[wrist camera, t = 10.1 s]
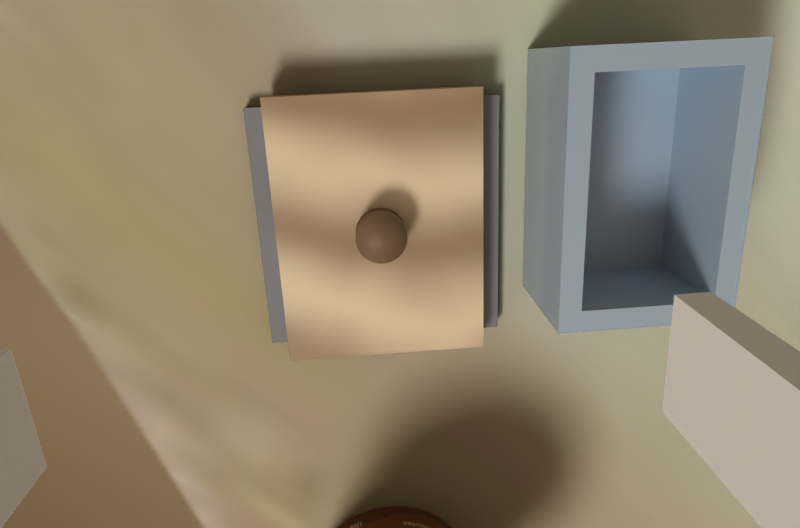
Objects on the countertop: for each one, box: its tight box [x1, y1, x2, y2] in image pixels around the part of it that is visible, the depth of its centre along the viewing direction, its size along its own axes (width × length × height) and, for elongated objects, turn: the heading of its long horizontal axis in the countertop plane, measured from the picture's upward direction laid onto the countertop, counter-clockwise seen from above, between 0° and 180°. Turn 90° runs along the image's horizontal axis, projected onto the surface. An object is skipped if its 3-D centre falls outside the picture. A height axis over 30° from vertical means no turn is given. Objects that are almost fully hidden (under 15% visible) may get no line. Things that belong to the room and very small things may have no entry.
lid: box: [260, 86, 483, 361], centre depth 29 cm, size 13×10×2 cm
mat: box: [243, 94, 499, 343], centre depth 31 cm, size 12×12×1 cm
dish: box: [523, 37, 774, 334], centre depth 28 cm, size 12×8×6 cm, turn 3°
